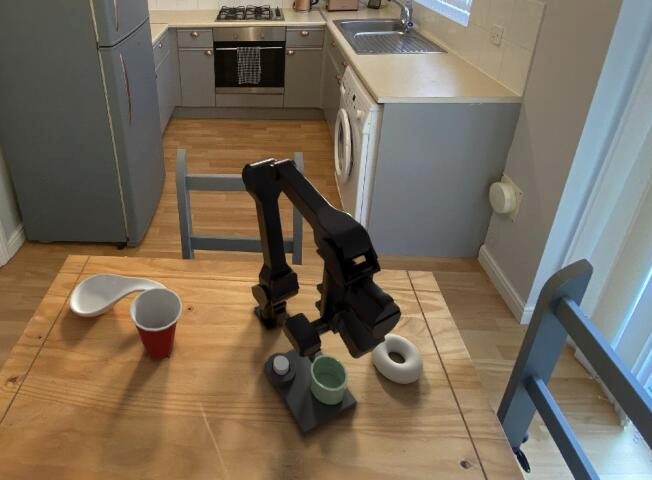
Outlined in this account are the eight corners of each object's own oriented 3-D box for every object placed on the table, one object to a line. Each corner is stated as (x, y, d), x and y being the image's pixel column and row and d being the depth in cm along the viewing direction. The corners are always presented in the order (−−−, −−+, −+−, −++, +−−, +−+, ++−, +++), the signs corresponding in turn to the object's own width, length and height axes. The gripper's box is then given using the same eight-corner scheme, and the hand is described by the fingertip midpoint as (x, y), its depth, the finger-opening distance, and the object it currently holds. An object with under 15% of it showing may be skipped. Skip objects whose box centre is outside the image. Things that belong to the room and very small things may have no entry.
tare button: (270, 364, 85) (270, 359, 84) (283, 358, 86) (283, 353, 85) (278, 378, 82) (278, 372, 81) (291, 371, 83) (291, 366, 83)
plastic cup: (194, 353, 90) (191, 313, 85) (146, 380, 85) (140, 339, 80) (172, 316, 98) (169, 277, 94) (128, 338, 93) (122, 299, 89)
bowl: (302, 379, 83) (303, 364, 81) (330, 364, 86) (331, 349, 84) (323, 412, 77) (325, 397, 75) (352, 396, 80) (355, 380, 78)
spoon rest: (64, 325, 96) (58, 303, 94) (81, 284, 107) (77, 263, 104) (166, 326, 96) (164, 304, 93) (173, 285, 107) (171, 263, 104)
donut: (373, 383, 84) (427, 392, 82) (375, 371, 82) (429, 380, 80) (367, 337, 93) (416, 345, 91) (369, 326, 91) (418, 333, 89)
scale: (260, 369, 86) (260, 359, 85) (312, 344, 91) (313, 334, 90) (299, 439, 75) (300, 429, 73) (356, 406, 80) (358, 395, 78)
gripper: (324, 350, 61) (316, 417, 67) (417, 303, 68) (403, 367, 74) (282, 294, 70) (279, 357, 76) (368, 257, 77) (359, 317, 83)
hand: (331, 350), depth 77 cm, fingers open, 9 cm apart
